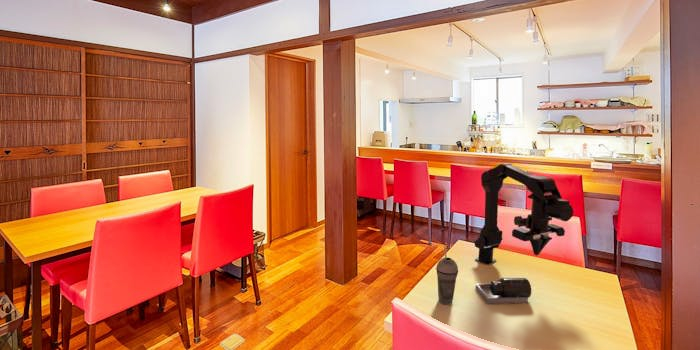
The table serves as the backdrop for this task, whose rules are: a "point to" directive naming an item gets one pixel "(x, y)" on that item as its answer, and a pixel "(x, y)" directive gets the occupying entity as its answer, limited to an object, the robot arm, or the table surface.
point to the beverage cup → (446, 279)
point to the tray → (491, 299)
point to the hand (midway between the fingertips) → (536, 254)
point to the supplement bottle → (511, 287)
